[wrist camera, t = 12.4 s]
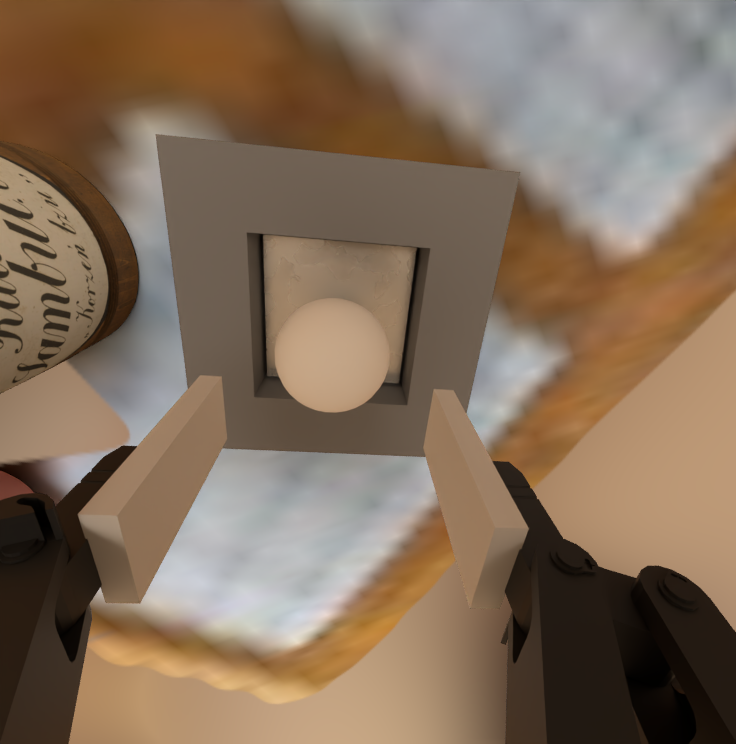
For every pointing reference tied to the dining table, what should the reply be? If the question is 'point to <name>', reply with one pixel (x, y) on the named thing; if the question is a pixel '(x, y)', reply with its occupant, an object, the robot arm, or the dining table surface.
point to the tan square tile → (338, 285)
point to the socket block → (334, 222)
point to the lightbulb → (332, 355)
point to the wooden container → (56, 265)
